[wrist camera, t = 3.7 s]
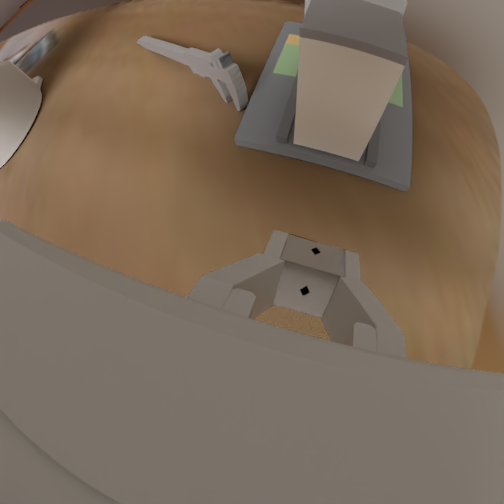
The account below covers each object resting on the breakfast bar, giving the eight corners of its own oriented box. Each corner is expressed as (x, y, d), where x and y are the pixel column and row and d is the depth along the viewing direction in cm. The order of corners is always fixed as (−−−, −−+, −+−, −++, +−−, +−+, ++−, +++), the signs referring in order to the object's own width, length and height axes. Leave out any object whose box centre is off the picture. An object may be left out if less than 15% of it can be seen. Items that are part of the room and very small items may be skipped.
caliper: (250, 108, 22) (242, 57, 16) (241, 115, 22) (230, 64, 16) (144, 40, 26) (127, 7, 20) (137, 45, 26) (119, 11, 20)
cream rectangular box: (291, 143, 20) (297, 27, 9) (305, 96, 20) (313, -11, 10) (358, 161, 19) (408, 57, 9) (365, 112, 20) (401, 13, 9)
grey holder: (235, 145, 21) (213, 64, 13) (286, 27, 24) (284, -35, 15) (405, 191, 20) (463, 133, 11) (405, 58, 22) (428, 1, 13)
